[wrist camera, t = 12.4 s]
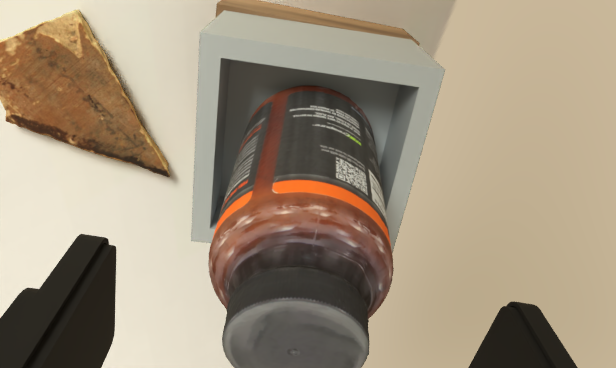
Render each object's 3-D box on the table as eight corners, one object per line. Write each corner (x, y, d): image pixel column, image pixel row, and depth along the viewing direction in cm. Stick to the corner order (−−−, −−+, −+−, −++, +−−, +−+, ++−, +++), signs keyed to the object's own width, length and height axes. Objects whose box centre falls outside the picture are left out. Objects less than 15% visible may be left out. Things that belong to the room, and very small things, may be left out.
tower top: (224, 10, 22) (200, 32, 17) (411, 39, 23) (445, 69, 18) (213, 180, 26) (191, 241, 21) (371, 200, 27) (389, 263, 22)
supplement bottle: (248, 188, 23) (191, 405, 14) (243, 75, 20) (163, 265, 11) (367, 195, 23) (388, 419, 14) (383, 83, 20) (424, 282, 11)
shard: (175, 166, 31) (169, 179, 29) (75, 200, 32) (64, 213, 31) (88, 4, 26) (74, 8, 25) (-27, 49, 27) (-47, 56, 26)
